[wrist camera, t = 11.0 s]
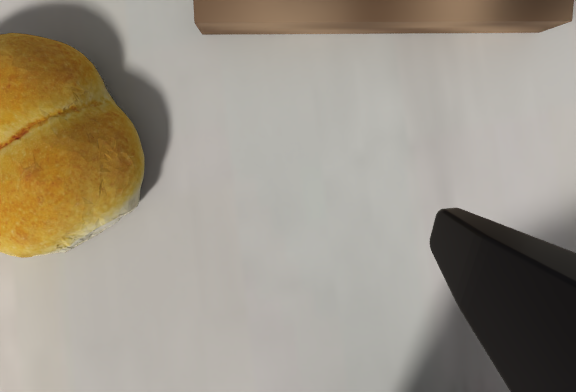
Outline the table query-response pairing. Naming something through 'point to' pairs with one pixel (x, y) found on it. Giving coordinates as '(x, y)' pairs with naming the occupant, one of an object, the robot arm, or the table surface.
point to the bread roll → (60, 149)
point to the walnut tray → (379, 16)
